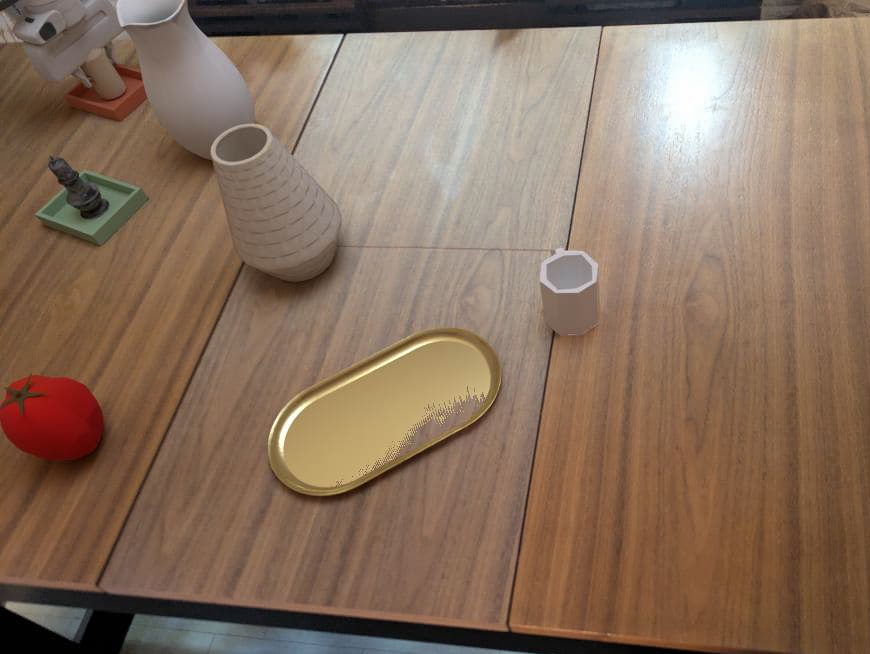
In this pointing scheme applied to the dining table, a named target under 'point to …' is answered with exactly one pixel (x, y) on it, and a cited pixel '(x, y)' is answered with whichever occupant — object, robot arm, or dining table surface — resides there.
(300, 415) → the serving platter
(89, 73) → the candle
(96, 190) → the dark grey figurine
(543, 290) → the mug
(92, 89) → the terracotta tray
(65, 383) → the tomato
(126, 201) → the green tray
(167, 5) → the pitcher
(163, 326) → the dining table surface
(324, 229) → the vase
